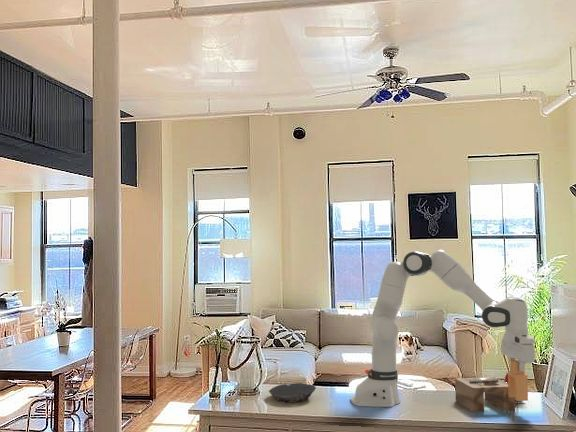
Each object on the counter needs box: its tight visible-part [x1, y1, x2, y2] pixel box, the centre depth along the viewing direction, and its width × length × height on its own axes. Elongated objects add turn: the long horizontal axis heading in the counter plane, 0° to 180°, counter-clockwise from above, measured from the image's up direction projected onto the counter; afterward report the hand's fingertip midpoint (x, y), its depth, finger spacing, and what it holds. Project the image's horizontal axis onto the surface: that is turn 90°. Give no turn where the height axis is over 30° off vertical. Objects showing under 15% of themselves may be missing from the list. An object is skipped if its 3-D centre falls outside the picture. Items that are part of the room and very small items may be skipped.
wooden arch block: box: [454, 376, 516, 413], centre depth 240 cm, size 19×17×12 cm
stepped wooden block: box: [507, 359, 529, 402], centre depth 228 cm, size 5×6×16 cm
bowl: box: [268, 382, 317, 404], centre depth 251 cm, size 22×22×5 cm
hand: (517, 369), depth 228 cm, fingers closed on stepped wooden block, 4 cm apart
